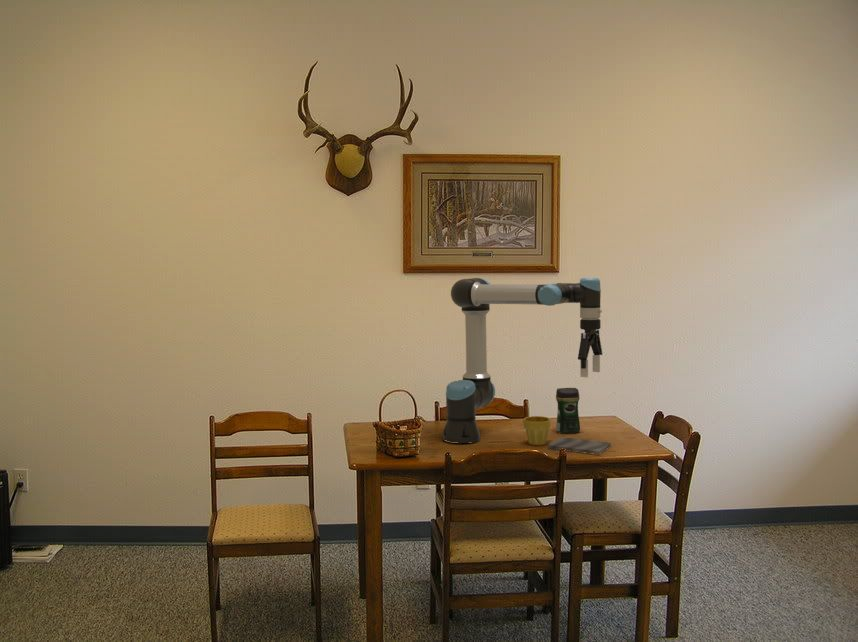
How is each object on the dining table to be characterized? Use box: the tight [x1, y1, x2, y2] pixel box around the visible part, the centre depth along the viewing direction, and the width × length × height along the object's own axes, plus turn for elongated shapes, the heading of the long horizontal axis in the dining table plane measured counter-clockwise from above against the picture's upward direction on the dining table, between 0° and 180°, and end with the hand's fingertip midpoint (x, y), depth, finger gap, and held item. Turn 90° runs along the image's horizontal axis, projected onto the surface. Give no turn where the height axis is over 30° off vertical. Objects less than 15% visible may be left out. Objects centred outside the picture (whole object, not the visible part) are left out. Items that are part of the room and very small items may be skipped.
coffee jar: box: [555, 387, 581, 434], centre depth 299 cm, size 10×8×19 cm
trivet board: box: [547, 436, 612, 455], centre depth 275 cm, size 20×14×2 cm
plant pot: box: [523, 415, 551, 446], centre depth 282 cm, size 10×10×10 cm
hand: (590, 374), depth 273 cm, fingers open, 13 cm apart
